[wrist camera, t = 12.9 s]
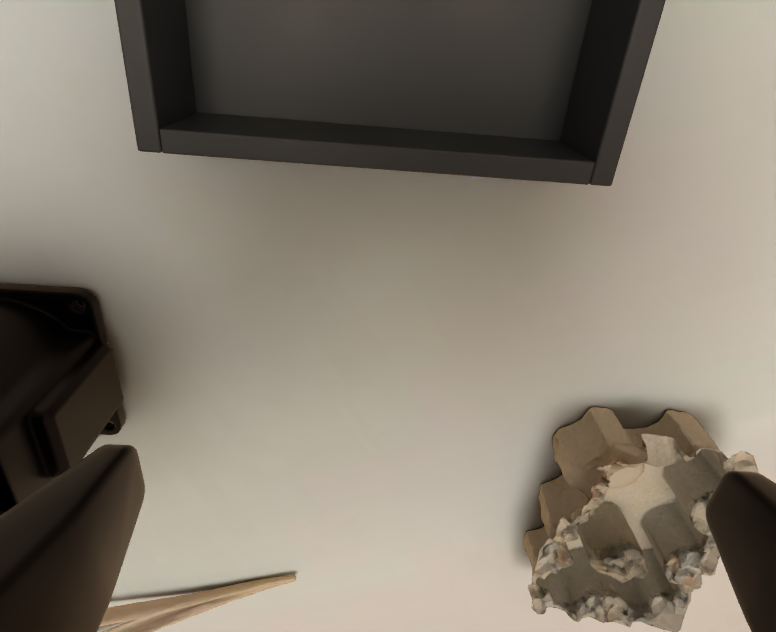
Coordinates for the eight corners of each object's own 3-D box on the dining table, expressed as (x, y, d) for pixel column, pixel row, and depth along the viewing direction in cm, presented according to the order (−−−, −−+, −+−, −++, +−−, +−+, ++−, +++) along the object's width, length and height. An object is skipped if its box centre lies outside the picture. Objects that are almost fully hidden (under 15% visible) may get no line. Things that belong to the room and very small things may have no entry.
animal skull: (30, 654, 29) (9, 693, 28) (-23, 607, 27) (-49, 646, 26) (313, 578, 28) (311, 613, 27) (281, 524, 26) (277, 558, 24)
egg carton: (562, 395, 21) (600, 468, 17) (732, 409, 22) (804, 483, 18) (504, 559, 26) (524, 643, 22) (643, 568, 27) (685, 651, 23)
